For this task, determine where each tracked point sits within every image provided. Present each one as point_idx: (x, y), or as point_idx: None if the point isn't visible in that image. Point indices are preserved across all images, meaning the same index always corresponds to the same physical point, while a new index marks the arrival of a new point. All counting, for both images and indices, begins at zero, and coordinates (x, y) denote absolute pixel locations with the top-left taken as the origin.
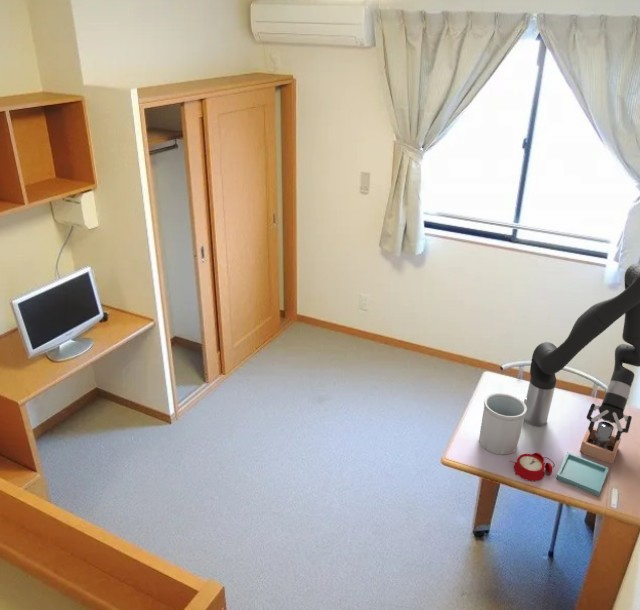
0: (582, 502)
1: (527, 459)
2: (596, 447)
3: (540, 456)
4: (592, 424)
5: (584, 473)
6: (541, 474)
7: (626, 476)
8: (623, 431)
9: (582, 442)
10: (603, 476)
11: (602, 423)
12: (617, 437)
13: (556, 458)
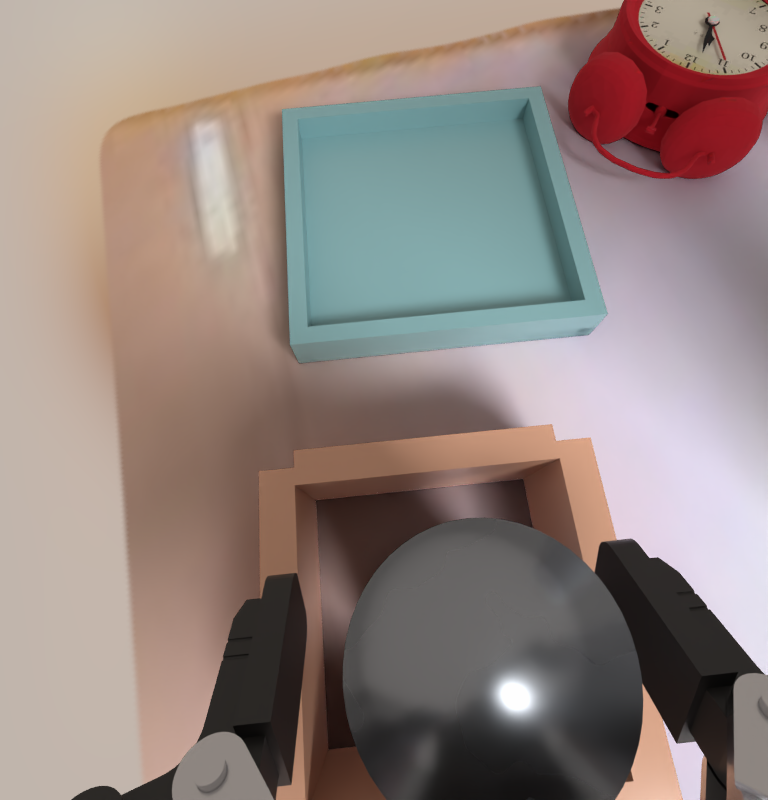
0: (348, 65)
1: (747, 41)
2: (444, 439)
3: (710, 147)
4: (692, 631)
5: (416, 229)
6: (605, 46)
7: (172, 410)
8: (164, 784)
9: (581, 440)
10: (299, 239)
11: (580, 707)
12: (259, 612)
13: (623, 274)
